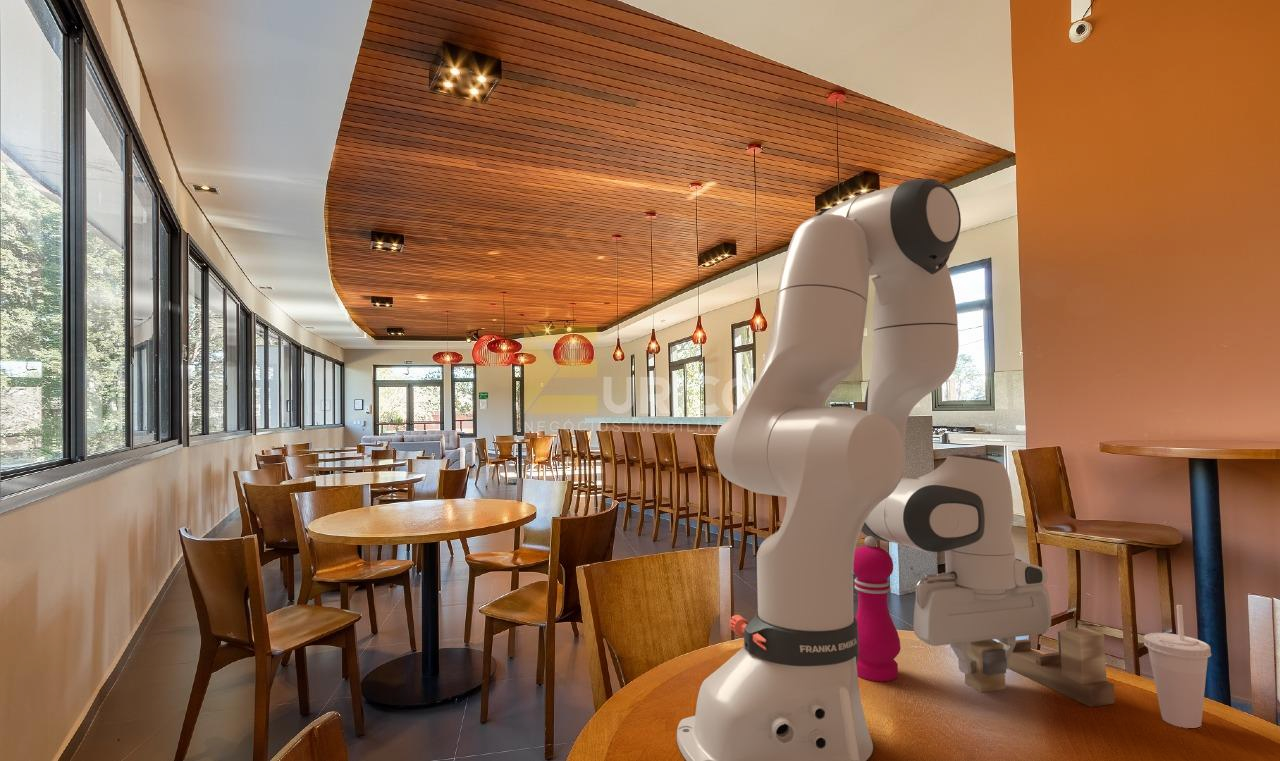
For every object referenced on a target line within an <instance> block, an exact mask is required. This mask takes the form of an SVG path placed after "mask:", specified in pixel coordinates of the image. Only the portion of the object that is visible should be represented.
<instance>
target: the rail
mask: <svg viewBox="0 0 1280 761" xmlns="http://www.w3.org/2000/svg"><path fill="white" fill-rule="evenodd" d="M1057 638H1058V639H1057V640H1058V644H1057V645H1058V651H1057V652H1049V653H1041V652H1039V651H1036V650H1035V649H1032V642H1031V640H1029V639H1027V638H1026V639H1016V645H1015V647H1014V649H1013V651H1012V653H1011V655H1010V657H1009V669H1008V670H1010V671H1013V672H1015V673H1017V674H1020V675H1021V676H1024V677H1026V678H1028V679H1030V680H1031V681H1032V680H1033V681H1034V682H1036V683H1039V684H1041V685H1043V686H1045V687H1047V688H1049V689H1052V690H1054V691H1055V692H1057V693H1059V694H1062V695H1064V696H1065V697H1068V698H1070V699H1072V700H1075V701H1077V702H1079V703H1081V704H1083V705H1085V706H1087V707H1090V708H1092V707H1098V706H1099V707H1101V706H1105V705H1106V706H1107V705H1112V704H1115V703H1116V702H1115V701H1116V699H1115V684H1114V683H1113V682H1110V681H1108V680H1107V664H1106V662H1107V661H1106V646H1105V634H1104V633H1101V632H1098V631H1095V630H1093V629H1089V628H1087V627H1085V626H1082V627H1075V628H1074V627H1073V628H1065V629H1060V630H1059V631H1057Z"/></svg>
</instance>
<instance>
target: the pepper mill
mask: <svg viewBox="0 0 1280 761" xmlns="http://www.w3.org/2000/svg"><path fill="white" fill-rule="evenodd" d="M877 545H878V540H876V538H875V537H873V536H866V537H865V538H864V546H861V547H858V548H856V549H855V555H854V567H853V575H855V578H854V579H853V582H854V583H855V584H854V589H855V590H856V591H857V596H858V603H857V606H858V607H857V611H856V614H855V616H854V617H855V618H856V620H857V622H858V637H859V657H858V662H857V673H858V678H861V679H863V680H868V681H872V682H884V681H885V682H891V681H894V680H896V679H897V678H898V676H899V675H898V674H899V668H898V666H899V665H898V664H899V663H898V661H897V660H895V659H896V657H898V655H899V654H900V652H901V648H902V647H901V640H900V636H899V633H898V630H897V628H896V626H895V624H894V622H893V620H892V617H891V615H890V611H889V607H888V593H889V592H890V591H891V587H890V585H891V582H890V580H889V577H890V576H891V575H892V574H893V572H894V562H893V558H892V557H891V555H890V553H889V552H887V551H886V550H885V549H883V548H882V547H878V546H877Z"/></svg>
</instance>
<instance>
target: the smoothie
mask: <svg viewBox="0 0 1280 761" xmlns="http://www.w3.org/2000/svg"><path fill="white" fill-rule="evenodd" d="M1183 613H1184V611H1183V605H1182V604H1176V616H1177V617H1176V618H1177V619H1176V620H1177V621H1176V622H1177V634H1175V633H1167V632H1150V633H1147V634H1145V635H1144V636H1143V637H1144V640H1143V644H1144V646H1145V647H1146V648H1147V649H1148V650H1147V651H1148V656H1149V661H1150V666H1151V670H1152V675H1153V680H1154V685H1155V691H1156V695H1157V699H1158V705H1159V709H1160V710H1159V711H1160V715H1161V719H1162V720H1163V721H1164V722H1166V723H1168V724H1170V725H1173V726H1176V727H1179V728H1182V727H1183V728H1184V729H1188V728H1195V727H1200V726H1201V727H1202V720H1203V710H1204V703H1205V702H1204V701H1205V688H1206V679H1207V671H1208V668H1207V667H1208V661H1209V660H1208V658H1210V657H1211V656H1212V653H1211V645H1209V644H1208V643H1206V642H1205V641H1202V640H1201V639H1197V638H1194V637H1190V636H1186V635H1185V629H1184V614H1183ZM1198 696H1199V697H1198ZM1201 727H1200V728H1201Z"/></svg>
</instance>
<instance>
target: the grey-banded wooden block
mask: <svg viewBox="0 0 1280 761" xmlns="http://www.w3.org/2000/svg"><path fill="white" fill-rule="evenodd" d="M969 648H970V649H969V650H966V651H967V653H968V655H969V657H970V658H971V659H973V660H975V661H976V669H977V672H976V673H972V674H965V673H964V684H965V685H967V686H969V687H971V688H973V689H974V690H976V691H978V692H980V693H986V692H992V691H993V692H994V691H999V690H1001V691H1002V690H1006V673H1007V669H1006V656H1005V650H1004V644H1001V643H999V641H998V640H995V639H992V640H984V641H975V642H969Z"/></svg>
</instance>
